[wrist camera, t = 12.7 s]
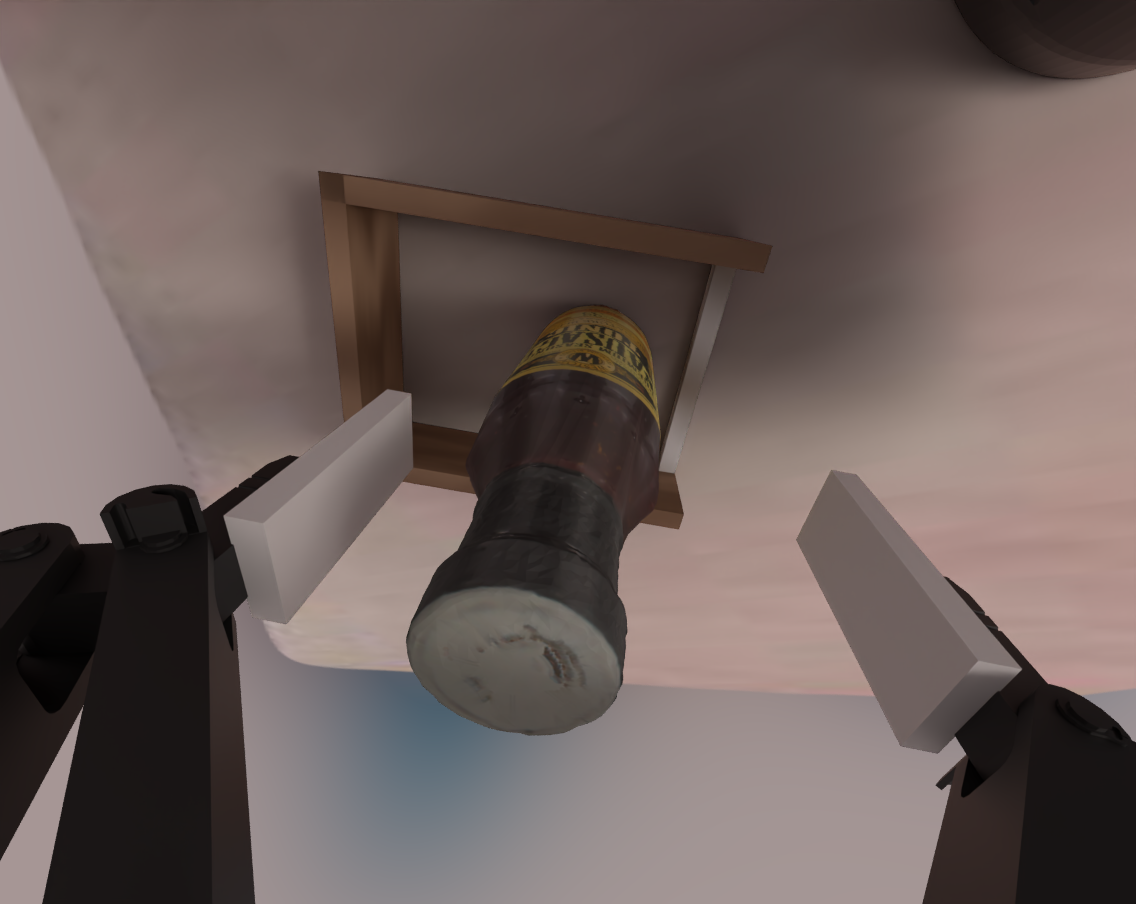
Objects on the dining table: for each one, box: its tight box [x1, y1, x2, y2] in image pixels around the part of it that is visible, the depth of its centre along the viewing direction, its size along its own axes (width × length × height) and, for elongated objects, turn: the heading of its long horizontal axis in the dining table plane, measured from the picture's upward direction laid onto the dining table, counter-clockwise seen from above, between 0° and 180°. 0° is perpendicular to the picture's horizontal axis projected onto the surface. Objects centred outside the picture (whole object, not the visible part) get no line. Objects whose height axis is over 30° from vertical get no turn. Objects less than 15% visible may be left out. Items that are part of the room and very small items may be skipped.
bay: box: [318, 171, 772, 529], centre depth 23 cm, size 14×18×5 cm
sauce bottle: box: [406, 305, 661, 735], centre depth 17 cm, size 6×6×20 cm
